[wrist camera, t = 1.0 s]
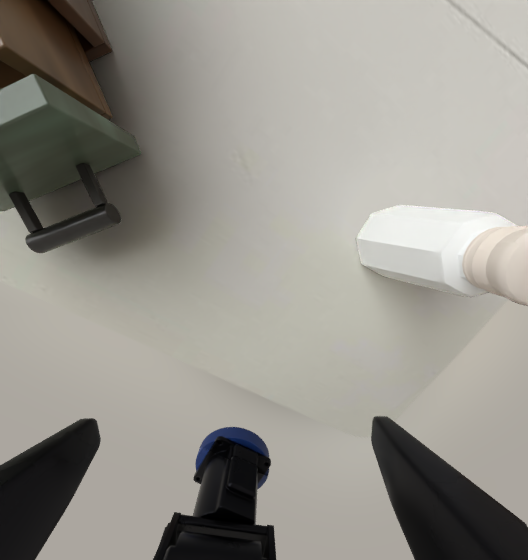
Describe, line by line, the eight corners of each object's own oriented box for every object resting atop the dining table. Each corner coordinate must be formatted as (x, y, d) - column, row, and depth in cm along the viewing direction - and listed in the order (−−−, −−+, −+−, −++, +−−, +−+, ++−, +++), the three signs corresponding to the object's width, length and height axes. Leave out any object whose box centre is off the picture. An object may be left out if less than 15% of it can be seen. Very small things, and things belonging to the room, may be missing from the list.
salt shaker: (439, 246, 19) (668, 280, 8) (379, 289, 20) (511, 371, 9) (401, 189, 18) (601, 138, 7) (340, 236, 19) (434, 256, 8)
